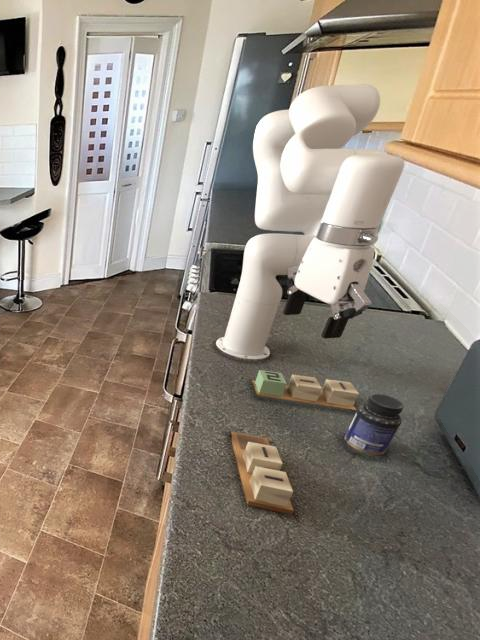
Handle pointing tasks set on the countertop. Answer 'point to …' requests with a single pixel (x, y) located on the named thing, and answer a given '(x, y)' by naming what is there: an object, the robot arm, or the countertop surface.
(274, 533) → the countertop surface
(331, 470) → the countertop surface
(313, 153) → the robot arm
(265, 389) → the green number cube
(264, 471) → the word
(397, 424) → the pill bottle
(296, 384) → the word
